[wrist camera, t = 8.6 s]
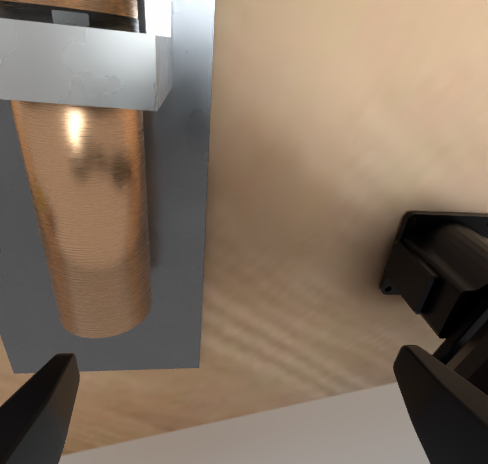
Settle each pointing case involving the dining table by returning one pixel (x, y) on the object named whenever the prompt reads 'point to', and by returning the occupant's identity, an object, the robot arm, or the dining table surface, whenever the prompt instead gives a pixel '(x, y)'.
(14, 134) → the plate
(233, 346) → the dining table surface
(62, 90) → the frame
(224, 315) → the dining table surface
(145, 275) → the tube
